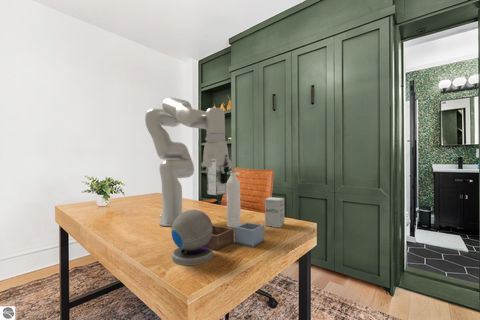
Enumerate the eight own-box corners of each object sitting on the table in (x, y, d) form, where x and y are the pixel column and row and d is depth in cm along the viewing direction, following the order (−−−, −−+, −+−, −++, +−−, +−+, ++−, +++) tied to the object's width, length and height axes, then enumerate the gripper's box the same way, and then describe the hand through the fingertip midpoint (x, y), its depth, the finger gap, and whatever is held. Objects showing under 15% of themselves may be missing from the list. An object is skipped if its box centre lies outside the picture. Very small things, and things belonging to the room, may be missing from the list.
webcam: (220, 256, 76) (220, 209, 76) (186, 269, 66) (185, 216, 66) (197, 246, 85) (196, 204, 85) (164, 256, 75) (163, 210, 76)
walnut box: (196, 245, 85) (195, 231, 85) (213, 237, 94) (213, 225, 94) (217, 250, 80) (216, 236, 80) (233, 242, 88) (233, 228, 88)
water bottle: (236, 228, 106) (235, 173, 106) (224, 226, 109) (223, 173, 109) (245, 223, 113) (244, 172, 113) (233, 222, 116) (233, 172, 116)
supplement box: (264, 226, 109) (264, 199, 109) (270, 222, 115) (270, 196, 115) (279, 228, 105) (279, 200, 105) (285, 224, 112) (284, 197, 112)
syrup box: (217, 192, 99) (216, 158, 99) (227, 193, 95) (226, 158, 95) (207, 194, 95) (206, 158, 95) (216, 195, 91) (215, 158, 91)
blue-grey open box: (234, 243, 87) (234, 227, 87) (246, 237, 93) (246, 222, 93) (253, 247, 82) (253, 230, 82) (264, 241, 89) (263, 225, 89)
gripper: (193, 139, 97) (194, 183, 97) (227, 136, 87) (228, 184, 87) (205, 141, 103) (206, 181, 103) (238, 138, 94) (239, 182, 94)
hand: (216, 182), depth 95 cm, fingers closed on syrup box, 6 cm apart
